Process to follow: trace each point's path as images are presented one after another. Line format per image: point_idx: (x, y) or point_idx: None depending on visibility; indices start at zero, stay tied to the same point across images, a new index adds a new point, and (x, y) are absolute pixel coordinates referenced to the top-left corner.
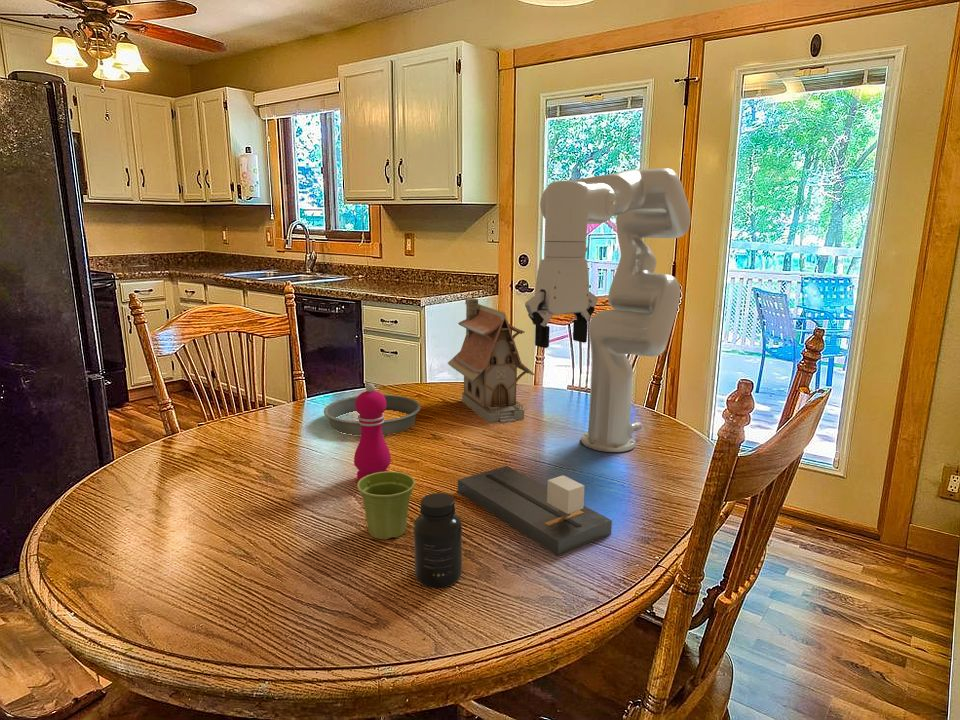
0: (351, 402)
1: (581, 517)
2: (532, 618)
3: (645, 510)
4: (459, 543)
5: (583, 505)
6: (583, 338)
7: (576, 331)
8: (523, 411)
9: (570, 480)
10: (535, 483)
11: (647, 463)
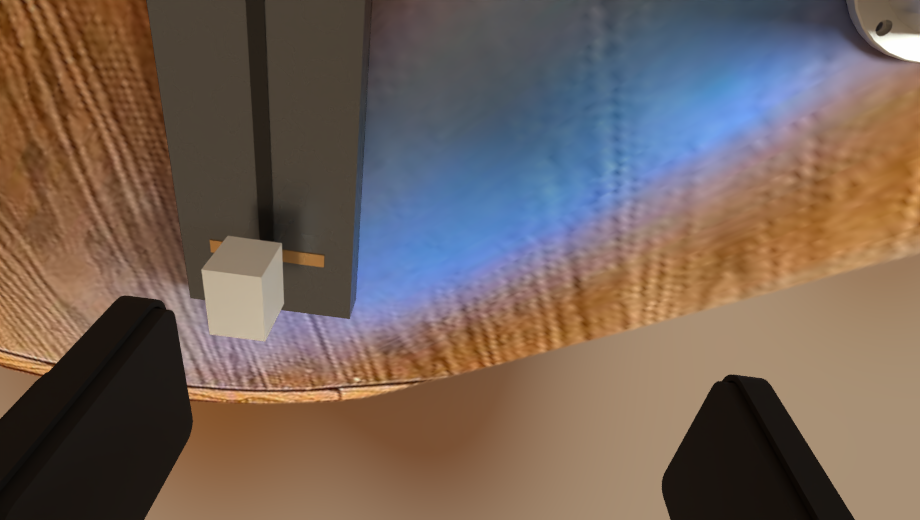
0: None
1: (303, 274)
2: (63, 345)
3: (504, 294)
4: None
5: (281, 308)
6: (671, 514)
7: (739, 505)
8: None
9: (255, 305)
10: (346, 75)
11: (809, 161)
